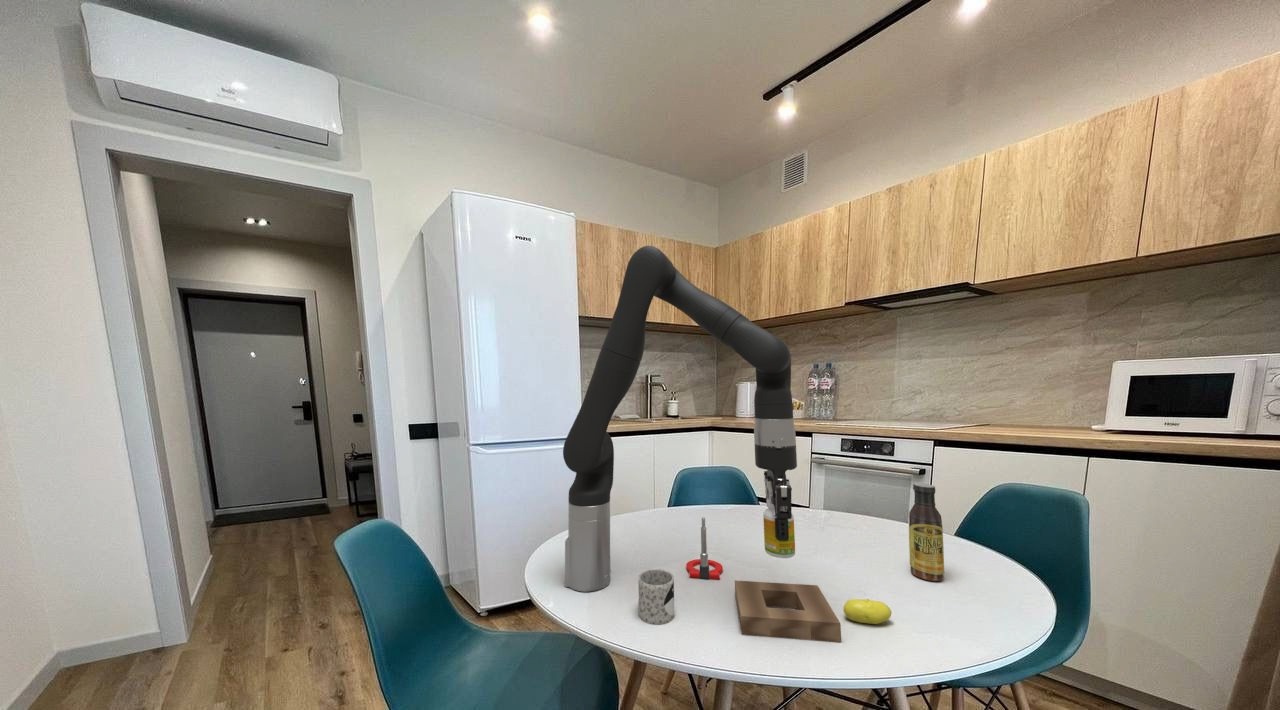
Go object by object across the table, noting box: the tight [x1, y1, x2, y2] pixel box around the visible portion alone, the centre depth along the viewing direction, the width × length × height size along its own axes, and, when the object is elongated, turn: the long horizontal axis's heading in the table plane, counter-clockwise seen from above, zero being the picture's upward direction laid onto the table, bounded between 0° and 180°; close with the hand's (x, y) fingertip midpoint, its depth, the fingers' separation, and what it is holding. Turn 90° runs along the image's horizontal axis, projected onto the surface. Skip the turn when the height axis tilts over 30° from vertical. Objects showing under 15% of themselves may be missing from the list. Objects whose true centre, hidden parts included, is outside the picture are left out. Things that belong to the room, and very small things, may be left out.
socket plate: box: [734, 580, 842, 643], centre depth 73 cm, size 16×13×3 cm
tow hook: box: [685, 516, 724, 580], centre depth 93 cm, size 8×13×9 cm
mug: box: [638, 568, 675, 626], centre depth 76 cm, size 10×7×7 cm
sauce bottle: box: [908, 482, 945, 582], centre depth 89 cm, size 6×6×20 cm
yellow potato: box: [843, 598, 892, 625], centre depth 71 cm, size 4×8×4 cm, turn 79°
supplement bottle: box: [763, 497, 796, 559], centre depth 74 cm, size 5×5×10 cm
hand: (778, 533), depth 74 cm, fingers closed on supplement bottle, 5 cm apart
